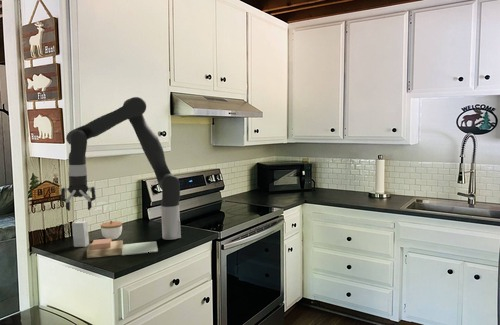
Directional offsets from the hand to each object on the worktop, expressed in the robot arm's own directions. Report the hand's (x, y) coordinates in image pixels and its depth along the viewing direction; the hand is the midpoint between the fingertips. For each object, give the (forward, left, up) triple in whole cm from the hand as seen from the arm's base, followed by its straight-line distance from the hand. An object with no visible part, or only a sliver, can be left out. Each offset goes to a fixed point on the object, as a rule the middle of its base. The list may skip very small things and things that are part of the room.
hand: (79, 210), depth 179 cm
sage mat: (-26, -1, -21) cm, 33 cm away
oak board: (-10, -1, -21) cm, 23 cm away
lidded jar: (-12, -25, -21) cm, 35 cm away
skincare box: (+2, -16, -21) cm, 27 cm away
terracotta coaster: (-9, -1, -17) cm, 19 cm away
